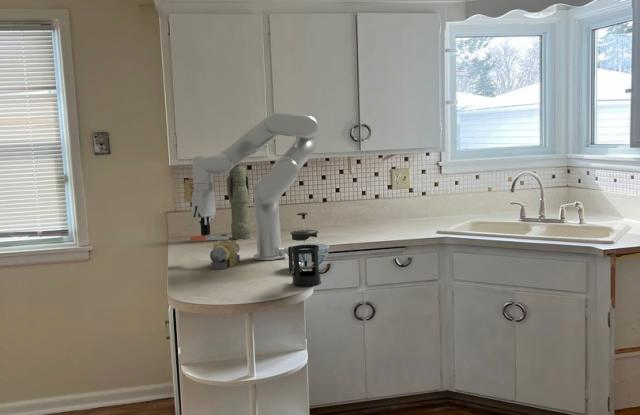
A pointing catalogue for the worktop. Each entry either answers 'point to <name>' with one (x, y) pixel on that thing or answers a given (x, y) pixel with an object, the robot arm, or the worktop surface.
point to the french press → (305, 276)
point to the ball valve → (224, 254)
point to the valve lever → (209, 237)
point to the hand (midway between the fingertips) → (205, 234)
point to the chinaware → (321, 254)
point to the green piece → (239, 202)
